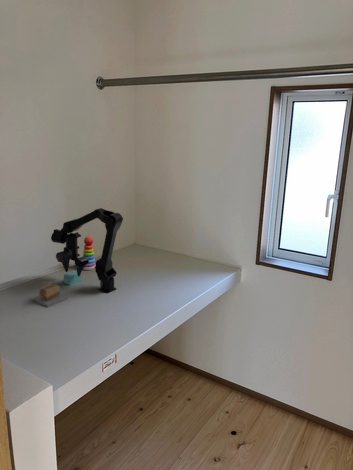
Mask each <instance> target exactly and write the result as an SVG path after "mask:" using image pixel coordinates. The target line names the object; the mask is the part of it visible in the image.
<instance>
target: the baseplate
mask: <svg viewBox="0 0 353 470" xmlns="http://www.w3.org/2000/svg"><path fill="white" fill-rule="evenodd" d="M31 300H32V301H33V302H36V303H37V304H40V305H42V306H45V307H46V308H49V307H52V306H54V305H57V304H59V303H61V302H65V301H66V300H68V296H66V295H65V294H62V293H60V296H59V297H57V298H54V299H52V300H49V301H45V300H43V299H41V298H40V294H39V295H36V296H33V297H32V298H31Z"/></svg>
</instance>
